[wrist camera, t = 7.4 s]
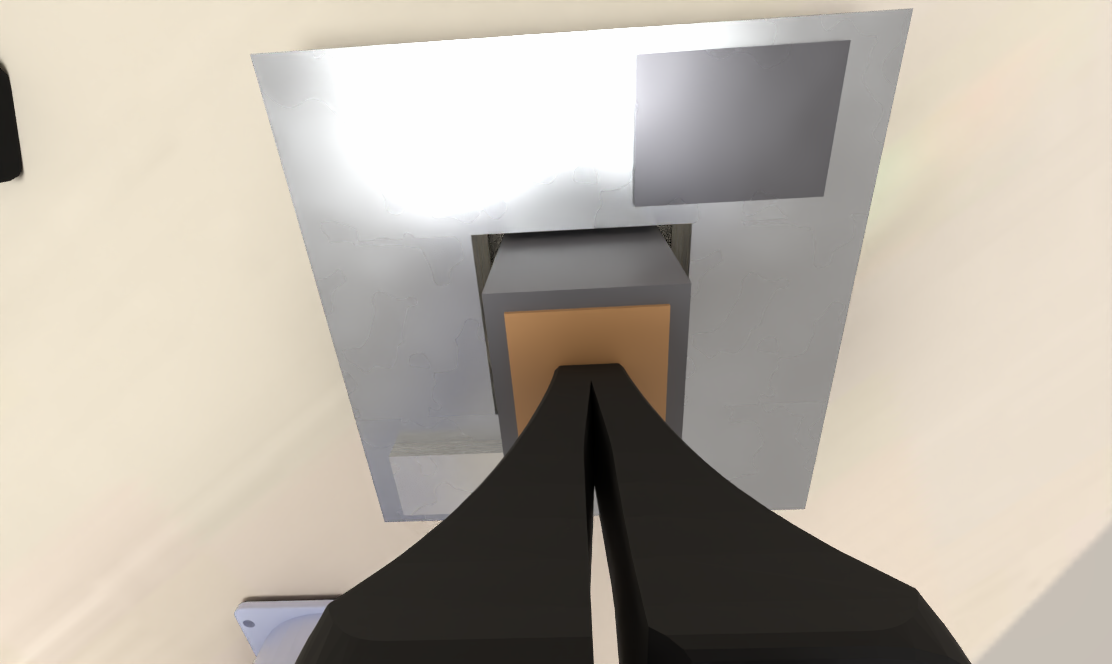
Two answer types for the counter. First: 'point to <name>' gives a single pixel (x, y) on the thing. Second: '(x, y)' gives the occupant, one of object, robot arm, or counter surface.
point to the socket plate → (588, 219)
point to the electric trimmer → (8, 133)
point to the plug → (586, 316)
